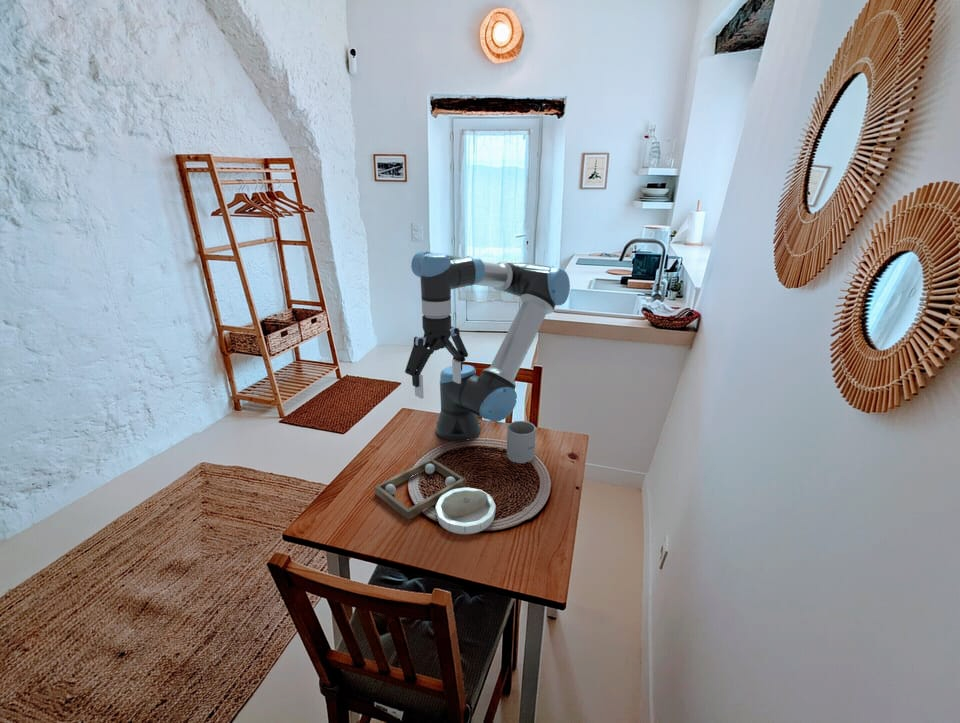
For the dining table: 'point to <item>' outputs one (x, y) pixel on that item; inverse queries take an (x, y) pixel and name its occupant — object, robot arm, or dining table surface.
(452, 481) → the pebble
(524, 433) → the mug
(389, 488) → the pebble
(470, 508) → the stone
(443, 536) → the dining table surface
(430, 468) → the pale glossy ball
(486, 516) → the bowl
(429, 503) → the parts frame
